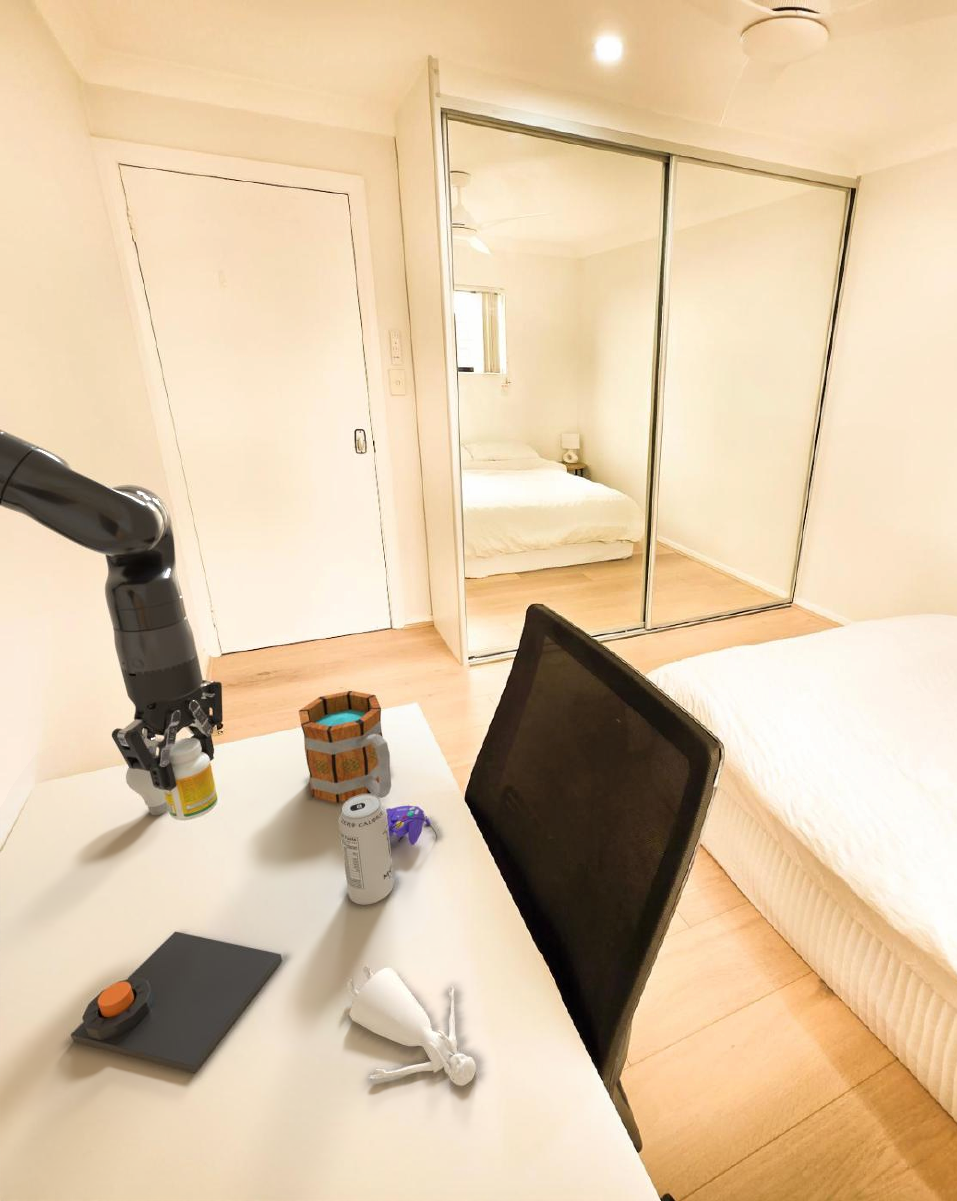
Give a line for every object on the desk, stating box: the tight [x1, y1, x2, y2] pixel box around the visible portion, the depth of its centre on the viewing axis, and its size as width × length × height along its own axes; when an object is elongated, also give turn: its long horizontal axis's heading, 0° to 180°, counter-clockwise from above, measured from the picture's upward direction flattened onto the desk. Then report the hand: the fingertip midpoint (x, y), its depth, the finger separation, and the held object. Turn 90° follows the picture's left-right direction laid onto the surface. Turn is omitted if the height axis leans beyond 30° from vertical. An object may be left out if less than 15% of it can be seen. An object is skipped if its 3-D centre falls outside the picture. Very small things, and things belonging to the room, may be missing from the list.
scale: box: [70, 931, 283, 1074], centre depth 67 cm, size 15×13×4 cm
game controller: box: [386, 805, 438, 845], centre depth 92 cm, size 10×8×10 cm
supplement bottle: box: [164, 737, 218, 821], centre depth 77 cm, size 5×5×10 cm
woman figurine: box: [346, 964, 477, 1087], centre depth 65 cm, size 12×4×18 cm
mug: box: [298, 690, 392, 804], centre depth 102 cm, size 20×14×15 cm
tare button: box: [98, 981, 134, 1018], centre depth 64 cm, size 3×3×2 cm
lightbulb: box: [125, 753, 169, 816], centre depth 95 cm, size 6×6×11 cm
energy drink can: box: [337, 793, 395, 906], centre depth 81 cm, size 6×6×15 cm
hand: (186, 773), depth 76 cm, fingers closed on supplement bottle, 5 cm apart
